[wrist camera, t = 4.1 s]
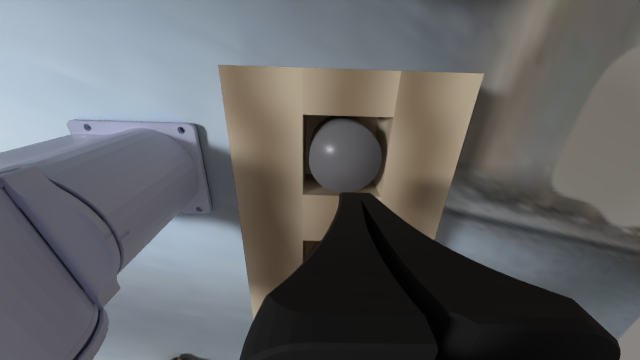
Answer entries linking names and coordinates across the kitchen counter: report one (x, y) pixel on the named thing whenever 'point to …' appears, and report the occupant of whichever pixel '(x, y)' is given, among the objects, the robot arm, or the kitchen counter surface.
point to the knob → (344, 154)
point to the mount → (294, 147)
